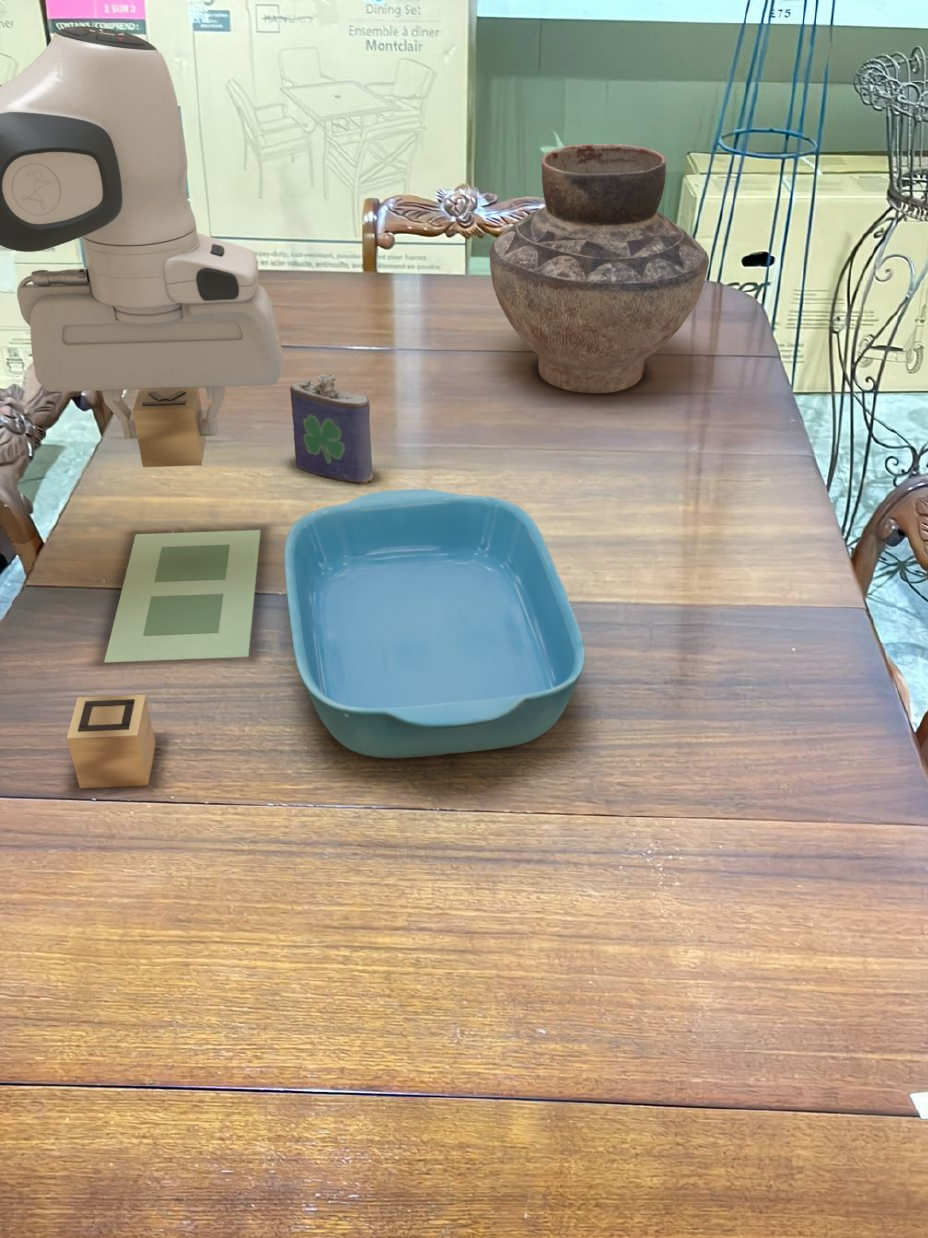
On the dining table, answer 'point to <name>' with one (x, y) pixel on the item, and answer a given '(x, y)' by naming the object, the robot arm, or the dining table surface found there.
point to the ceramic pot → (597, 268)
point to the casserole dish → (429, 623)
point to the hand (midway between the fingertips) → (172, 434)
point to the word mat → (186, 597)
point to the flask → (331, 431)
